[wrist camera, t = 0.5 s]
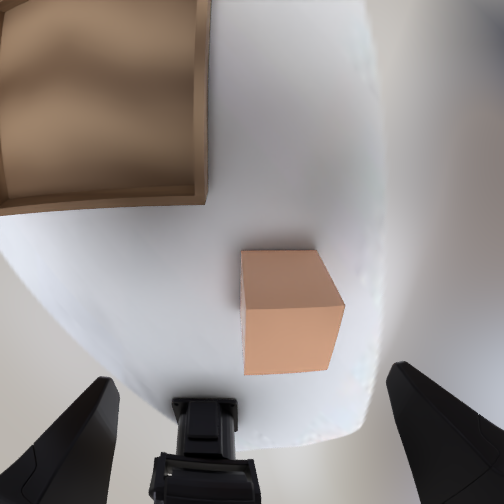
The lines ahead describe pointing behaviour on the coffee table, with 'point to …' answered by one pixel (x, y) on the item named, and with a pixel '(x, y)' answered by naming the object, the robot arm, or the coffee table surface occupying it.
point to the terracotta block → (287, 312)
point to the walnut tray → (103, 104)
